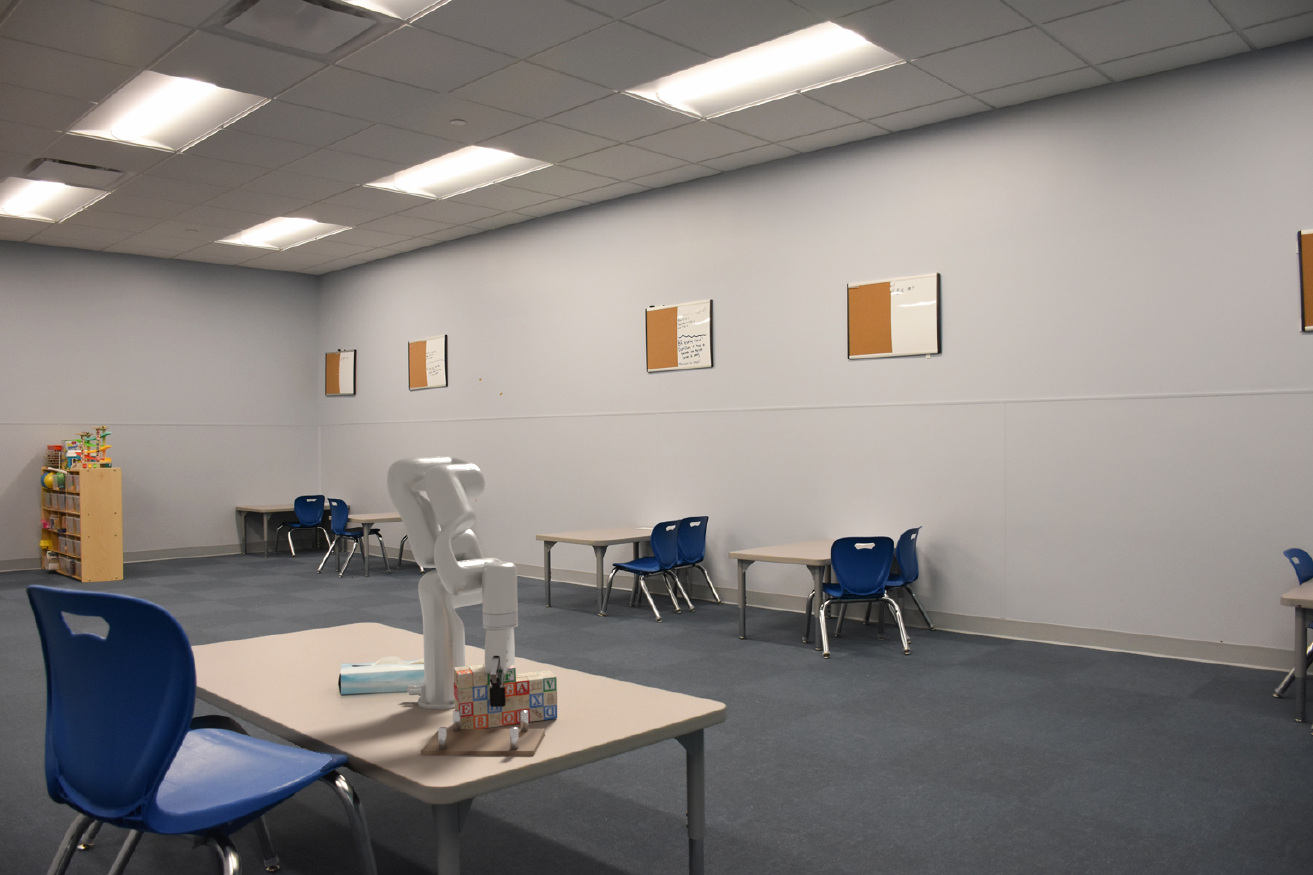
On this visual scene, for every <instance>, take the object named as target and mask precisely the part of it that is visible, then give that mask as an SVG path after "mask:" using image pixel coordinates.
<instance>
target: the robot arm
mask: <svg viewBox="0 0 1313 875" xmlns="http://www.w3.org/2000/svg"><path fill="white" fill-rule="evenodd" d="M484 477H485V476H484V474H483V472H482V470H481V469H480V467H479V466H477V464H475V463H473V462H470V461H466V460H464V459H461V458H458V457H455V456H451V455H450V456H449V455H448V456H447V455H445V456H444V455H443V456H441V455H440V456H415V457H405V458H400V459H397V460H396V461H393V463H392V464H390V466H389V468H388V470H387V475H386V484H387V485H386V487H387V490H388V494H389V499H390V500H391V502H392V504H393V507H394V508H395V509H396V511H397V513H398V515H399V517H400V519H401V521H402V524H403V527H404V530H405V533H406V536H407V539H408V543H409V546H410V549H411V552H412V555H413V558H414V560H415V562H416V564H417V565H418V566H419V567H421V568H425V569H432V568H433V570H431V571H428V572H426V573H425V574H423V576H421V577H420V579H419V582H418V585H417V591H418V592H417V593H418V598H419V599H418V600H419V602H420V603H419V604H420V608H421V615H422V627H423V628H422V635H423V637H422V638H423V678H424V679H423V682H424V683H421V684H420V685H417V684H407V686H406V692H407V694H408V695H409V696H419V697H418V699H417V705H418V707H420V708H421V709H427V710H428V709H429V710H450V709H455V700H454V668H455V667H463V666H466V637H465V636H466V634H465V632H466V631H465V630H466V629H465V624H464V621H463V620H462V618H461V617H460V616H459V615H458V613H457V612H456V610H455V609H458V608H462V607H467V606H468V607H469V606H475V605H479V604H482V628H483V629H485V630H486V631H485V639H484V664H485V666H484V672H485V675H487V674H490V676H491V678H490V706H491V707H504V706H505V687H504V677H505V675H506V674H508V672H509V668H510V667H511V665H513V666H514V667H515V662H516V661H515V660H516V659H515V657H516V654H515V653H516V651H515V645H516V644H515V628H518V626H519V613H518V612H519V610H518V608H519V607H518V606H519V605H518V602H519V601H518V568H517V566H516V564H514V563H513V562H510V561H502V560H501V559H499V558H496V557H484V553H483V551H482V548H481V545H480V542H479V539H478V537H477V535H476V533H475V532H474V531H473V529H471V528H472V527H473V526H474V525H475V524H476V522H477V514H476V512H475V509H474V508H473V504H472V503H471V499H475V498H479V497H480V496H481V495H482V494H483V493H484V490H485V487H486V486H485V485H486V481H485V478H484ZM421 492H425V493H426V495H427V498H428V499H427V498H426V497H424V496H423V495H422V494H421ZM434 568H435V569H434ZM499 663H500V664H499ZM498 670H501V671H502V673H498ZM499 677H501V681H500V679H499Z"/></svg>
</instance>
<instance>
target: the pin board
mask: <svg viewBox="0 0 1313 875" xmlns="http://www.w3.org/2000/svg"><path fill="white" fill-rule="evenodd" d="M519 724H520V726H519V727H520V728H519V727H518V726H511V727H510V728H483V729H461V711H460V710H455V709H454V710H452V728H448V727H447V726H440V727H438V729H437V731H436V732H435V733H434V735H433V736H432V737H431V738H430V739H429V740H428V741H427V743H426V744H425V745H424V746H423V747H422V749H420V756H478V757H479V756H480V757H481V756H492V757H494V756H497V757H498V756H501V757H502V756H505V757H507V756H510V757H514V756H515V757H516V756H527V757H529V756H531V757H534V756H535V755H536V754H537V752H538V749H539V748H540V745H541V744H542V742H543V740H544V738H545V736H546V728H529V722H528V710H521V711H520V723H519Z"/></svg>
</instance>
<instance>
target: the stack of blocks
mask: <svg viewBox="0 0 1313 875" xmlns="http://www.w3.org/2000/svg"><path fill="white" fill-rule="evenodd" d="M499 664H500V663H499ZM484 666H485V663H484V664H473V665H465V666H463V667H455V668H454V700H455V708H454V710H460V711H461V729H491V728H495V727H496V728H497V727H498V728H499V727H502V726H503V727H504V726H507V725H508V726H510V725H516V724H517V725H518V724H520V711H521V710H528V723H532V722H539V721H547V720H555V719H558V691H557V690H558V689H557V688H558V684H557V682H558V681H557V676H556V675H555V674H554V673H553V672H552V671H551V670H550V669H549V670H540V671H530V672H520V673H516V670H517V669H516V667H515V665H514V666H513V665H511V667H510V668H509V672H508V674H506V675H505V677H504V687H505V706H504V707H491V706H490V678H491V676H490V674H487V675H485V672H484ZM498 673H502V671H501V670H498ZM499 679H500V681H501V677H499Z"/></svg>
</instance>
